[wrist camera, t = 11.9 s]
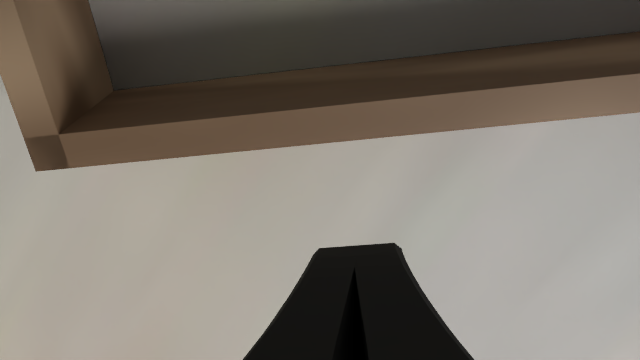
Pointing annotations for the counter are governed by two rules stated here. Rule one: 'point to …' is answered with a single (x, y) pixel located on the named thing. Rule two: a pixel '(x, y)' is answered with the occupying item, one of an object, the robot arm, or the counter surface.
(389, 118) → the wooden tray
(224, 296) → the counter surface
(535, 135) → the counter surface
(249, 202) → the counter surface
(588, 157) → the counter surface
